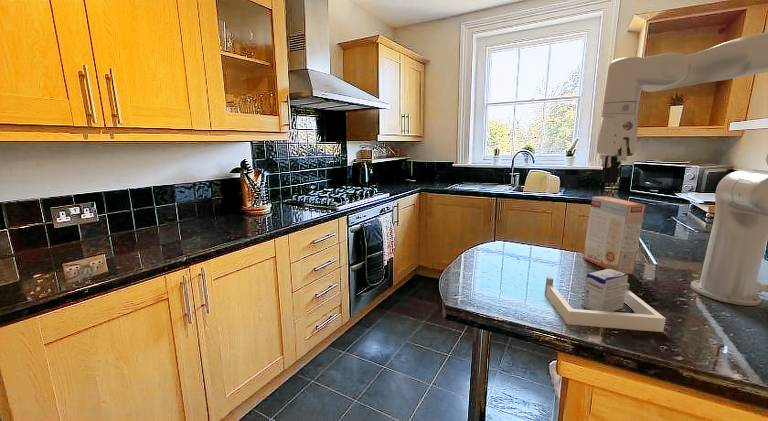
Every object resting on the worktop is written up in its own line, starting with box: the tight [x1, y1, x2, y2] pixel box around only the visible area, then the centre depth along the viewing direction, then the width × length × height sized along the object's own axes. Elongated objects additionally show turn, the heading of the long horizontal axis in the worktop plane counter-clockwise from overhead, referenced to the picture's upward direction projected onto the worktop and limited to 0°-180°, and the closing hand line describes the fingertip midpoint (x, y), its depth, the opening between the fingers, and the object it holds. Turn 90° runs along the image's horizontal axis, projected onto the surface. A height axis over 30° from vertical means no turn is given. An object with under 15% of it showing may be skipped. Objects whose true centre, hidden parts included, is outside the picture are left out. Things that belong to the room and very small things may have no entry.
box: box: [582, 269, 629, 312], centre depth 76 cm, size 8×4×9 cm, turn 114°
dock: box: [544, 276, 667, 333], centre depth 75 cm, size 18×14×4 cm
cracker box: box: [582, 195, 647, 275], centre depth 100 cm, size 14×6×21 cm, turn 6°
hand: (608, 182), depth 88 cm, fingers closed
